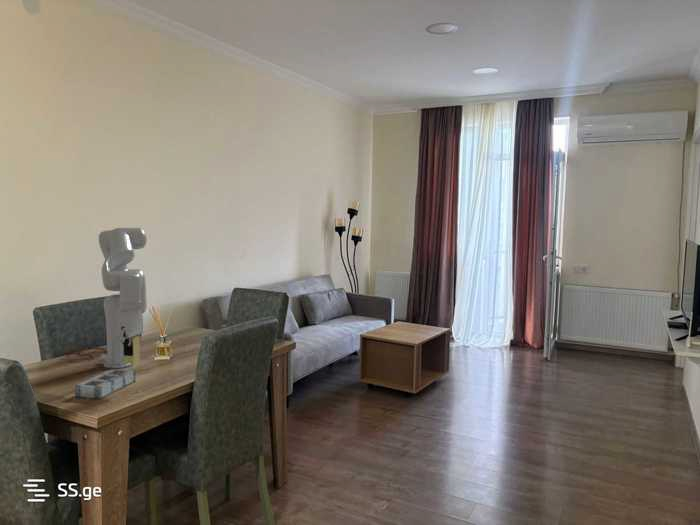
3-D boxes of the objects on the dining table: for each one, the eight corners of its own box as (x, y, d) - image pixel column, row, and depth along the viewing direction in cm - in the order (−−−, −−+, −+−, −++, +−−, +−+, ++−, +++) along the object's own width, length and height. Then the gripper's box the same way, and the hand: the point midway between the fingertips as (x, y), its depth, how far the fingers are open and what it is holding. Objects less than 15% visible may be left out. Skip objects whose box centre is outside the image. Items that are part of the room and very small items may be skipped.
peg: (124, 363, 197) (123, 337, 196) (130, 360, 201) (129, 334, 200) (133, 364, 197) (133, 337, 196) (139, 361, 200) (139, 335, 199)
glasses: (82, 352, 257) (81, 342, 257) (108, 353, 257) (108, 342, 256) (66, 359, 244) (66, 349, 244) (94, 360, 244) (94, 349, 243)
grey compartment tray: (75, 397, 191) (74, 385, 191) (113, 379, 213) (112, 368, 213) (99, 399, 190) (99, 387, 189) (135, 381, 211) (135, 370, 211)
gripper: (134, 301, 206) (135, 347, 207) (107, 309, 189) (108, 359, 191) (152, 303, 204) (153, 349, 206) (126, 311, 188) (127, 361, 190)
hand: (131, 353), depth 199 cm, fingers closed on peg, 4 cm apart
